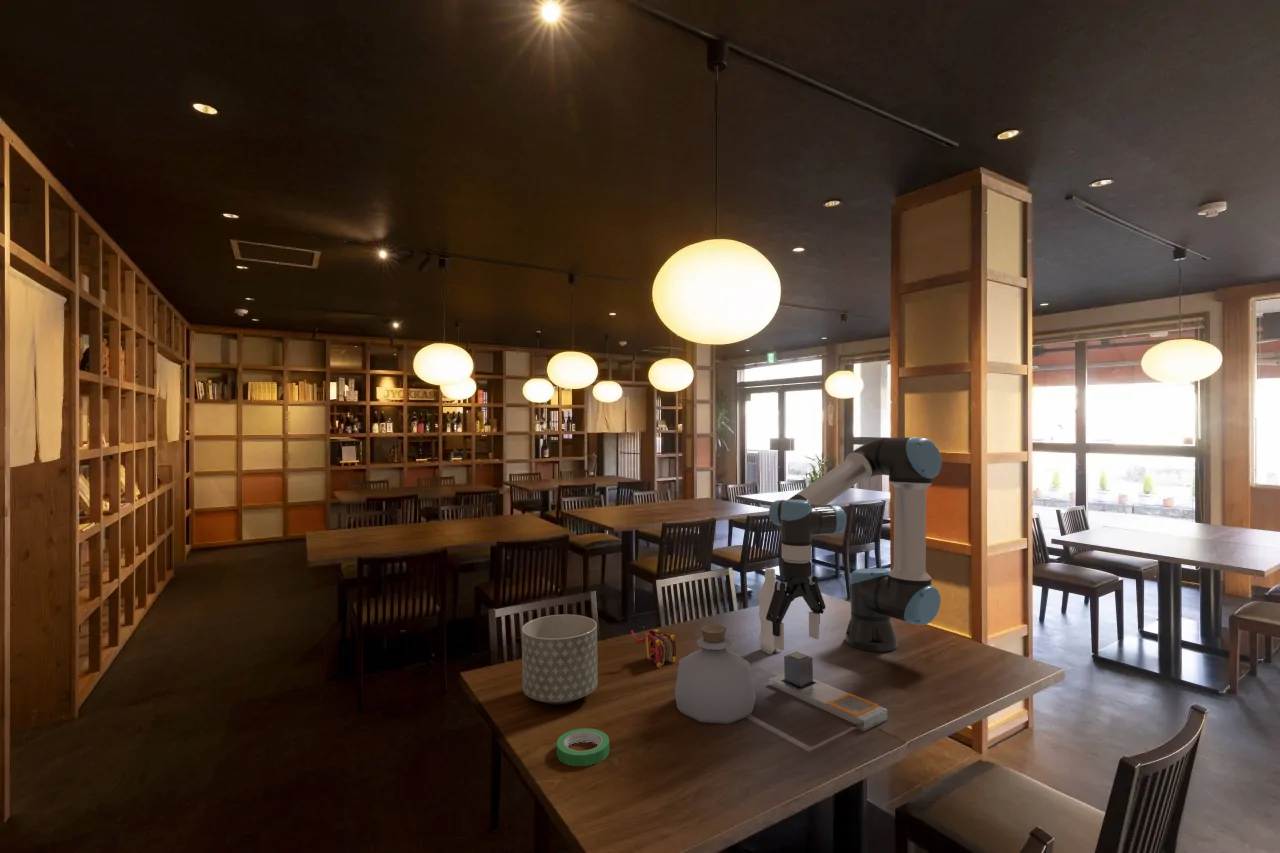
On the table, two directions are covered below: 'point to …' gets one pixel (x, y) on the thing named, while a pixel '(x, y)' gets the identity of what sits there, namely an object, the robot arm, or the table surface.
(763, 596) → the water bottle
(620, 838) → the table surface
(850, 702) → the rail
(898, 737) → the table surface
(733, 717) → the bottle
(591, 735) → the tape roll
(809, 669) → the grey tall square block
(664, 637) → the book monster
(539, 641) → the planter
